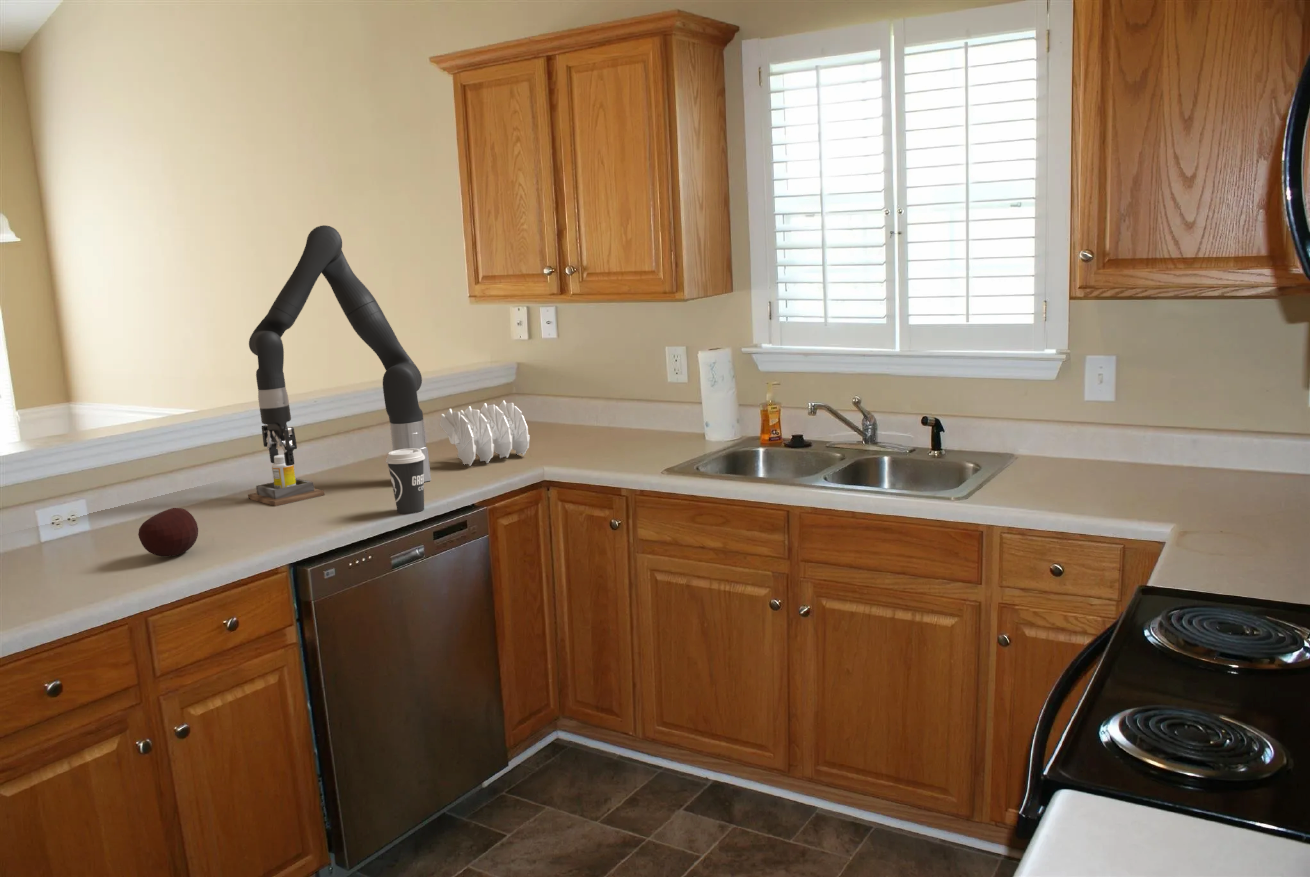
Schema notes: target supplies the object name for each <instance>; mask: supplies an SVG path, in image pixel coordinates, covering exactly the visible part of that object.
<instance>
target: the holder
mask: <svg viewBox="0 0 1310 877" xmlns="http://www.w3.org/2000/svg"><path fill="white" fill-rule="evenodd" d="M295 480H296V485H294V486H290V487H285V488H280V489H275V486H274V481H273V482H267V483H263V484H260V485H256V486H255V487H256V492H253V493H248V494H247V496H248V498H250V499H249V500H252V501H255V502H259V503H262V504H266V505H270V506H274V507H277V506H278V507H279V506H283V505H286V504H291V503H295V502H300V501H304V500H308V499H313V498H316V497H317V496H318V497H322V496H325V491H324V490H322V489H318V488H315V487H314V482H313V481H309V480H304V479H302V478H301V479H300V478H296V477H295Z"/></svg>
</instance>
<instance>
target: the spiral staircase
mask: <svg viewBox="0 0 1310 877" xmlns="http://www.w3.org/2000/svg"><path fill="white" fill-rule="evenodd" d="M439 427H440V428H441V429H442V430H443V431H444V432H445V433H446V435H447V437H448V440H449V443H450V444H452V445H455V447H456V449H457V458H459V460H461V461H462V465H463V464H464V465H463V466H466V465H468V466H469V467H471V466H472V464H473V463H474V461H475V459H476V455H477V456H478V457H479V462H484V461H485V463H486V464H489V462H490V461H491V459H492V458H493V457H494V453H496V454H498V455H499V459H503V458H504V457H505V458H509V456H510V454H511V452H512V450H513V451H515V455H516V454H517V455H518V454H519V455H522V456H525V455H526V452H527V450H528V449H529V448H530V440H531V439H530V437H531V435H530V434H529V427H528V425H527V422H526V420H525V416H524V415H523V411H522V410H520V409H519V408H518V406H516V405H515V404H514V402H506V401H505V400H502V401H501V403H500V404H499V406H497V405H495V404H490V405H487V402H485V403H483V405H482V407H481V408H480V410H479V409H475V408H474V409H472V407H471V406H468V407H467V408H466V409H465V410H464V411H463V409H460V411H453V410H452V408H449V409H448V411H447V412H446V414H444V413H441V416H440V422H439ZM517 455H516V456H517ZM465 464H466V465H465Z"/></svg>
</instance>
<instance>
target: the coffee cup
mask: <svg viewBox="0 0 1310 877" xmlns="http://www.w3.org/2000/svg"><path fill="white" fill-rule="evenodd" d="M424 459H425V456H424V454H423V453H422V451H421V450H420V449H413V448H412V449H400V450H395V451H393V450H391V451H389V452H388V453H387V457H386V459H385V463H386V464H387V466H388V467H387V468H388V471H389V475H390V476H389V477H390V480H391V485H392V490H393V491H392V492H393V495H394V502H395V506H396V511H397V513H398V514H402V515H409V514H416V513H420V512H423V511H424V510H425V484H424V483H425V482H424V465H423V460H424Z"/></svg>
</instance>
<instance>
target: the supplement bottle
mask: <svg viewBox="0 0 1310 877" xmlns="http://www.w3.org/2000/svg"><path fill="white" fill-rule="evenodd" d="M274 462H275V463H272V464H271V469H272V470H271V471H272V479H273V482H274V486H275V489H280V488H285V487H290V486H294V485H296V480H295V478H296V473H295V467H294V465H295V464H294V465H291V466H286V464H285V457H284V454H279V455H277V456H274Z"/></svg>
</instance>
